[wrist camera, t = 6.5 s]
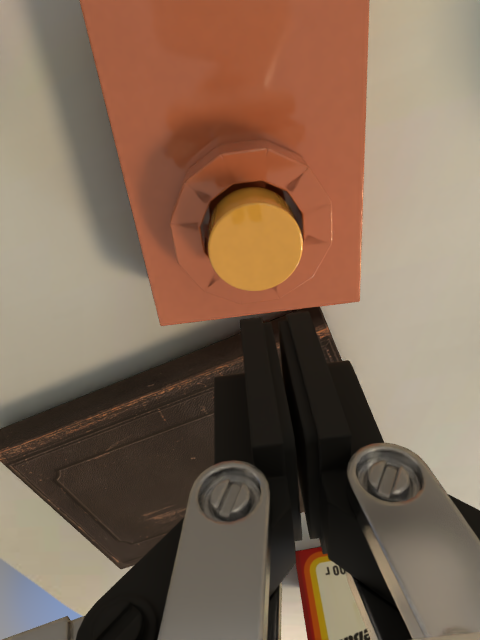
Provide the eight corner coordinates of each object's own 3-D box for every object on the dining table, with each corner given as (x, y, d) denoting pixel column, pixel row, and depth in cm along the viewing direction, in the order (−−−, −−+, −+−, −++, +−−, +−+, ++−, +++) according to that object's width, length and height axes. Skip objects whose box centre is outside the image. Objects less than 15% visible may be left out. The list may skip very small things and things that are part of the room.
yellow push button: (201, 192, 18) (200, 209, 16) (292, 180, 18) (301, 196, 16) (214, 274, 20) (215, 297, 18) (297, 263, 20) (305, 285, 18)
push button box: (99, -11, 19) (58, -26, 14) (341, -44, 19) (389, -72, 14) (167, 286, 26) (156, 347, 21) (340, 265, 26) (370, 321, 21)
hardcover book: (382, 459, 35) (392, 484, 33) (124, 543, 39) (120, 570, 37) (316, 297, 27) (323, 317, 25) (0, 423, 31) (-14, 449, 29)
